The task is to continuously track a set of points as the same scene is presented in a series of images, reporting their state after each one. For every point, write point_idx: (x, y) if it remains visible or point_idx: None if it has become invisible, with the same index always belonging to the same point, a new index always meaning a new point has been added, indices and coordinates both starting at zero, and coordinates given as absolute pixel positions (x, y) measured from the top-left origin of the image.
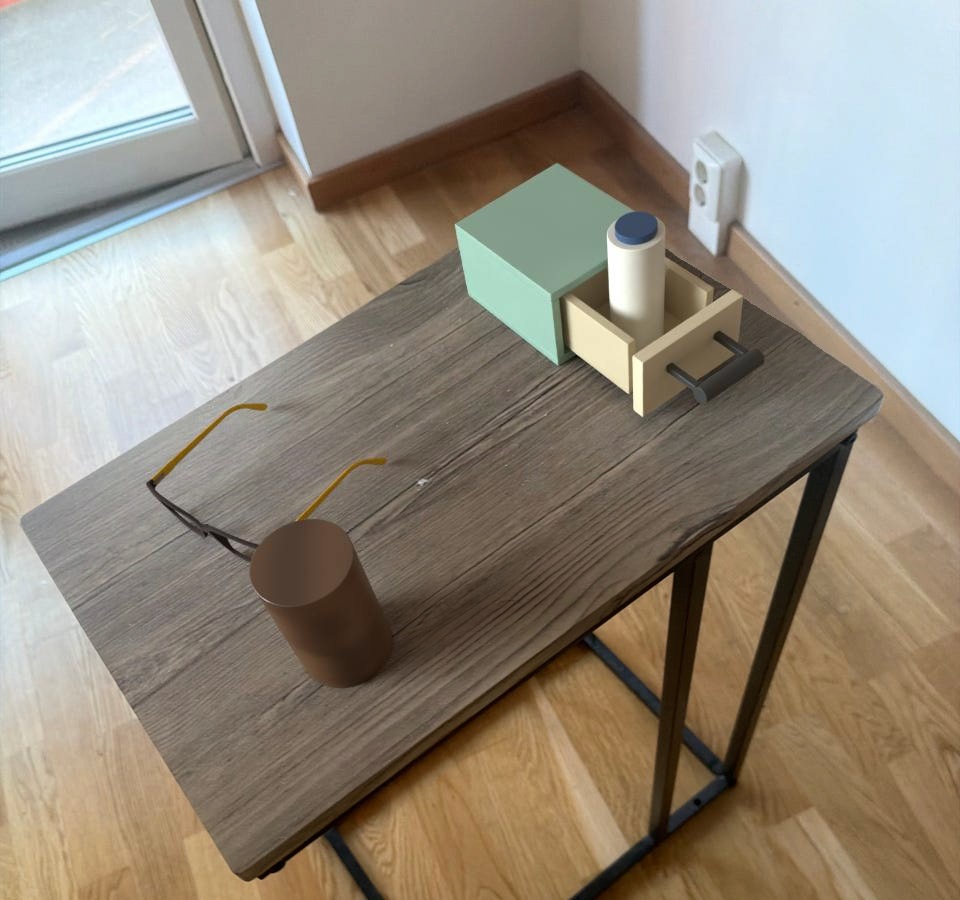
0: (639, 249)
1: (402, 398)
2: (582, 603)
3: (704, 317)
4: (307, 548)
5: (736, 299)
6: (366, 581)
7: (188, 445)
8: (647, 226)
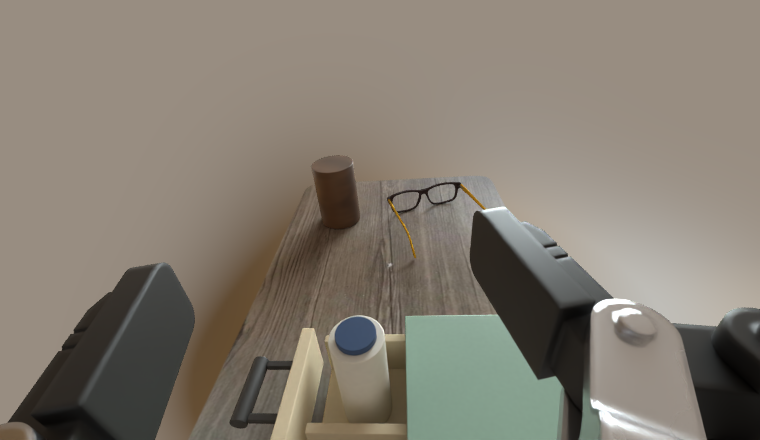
0: (336, 325)
1: (455, 283)
2: (269, 277)
3: (287, 392)
4: (334, 165)
5: (273, 432)
6: (321, 189)
7: (472, 195)
8: (344, 337)
